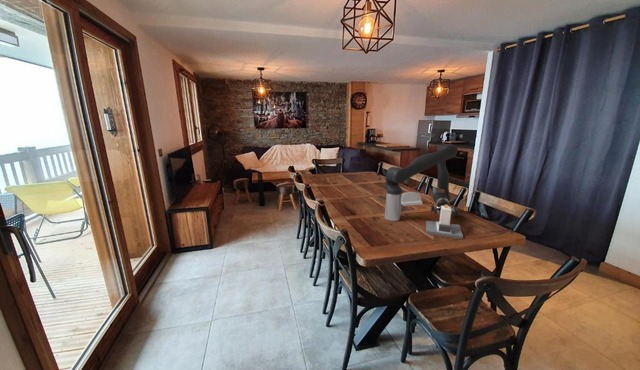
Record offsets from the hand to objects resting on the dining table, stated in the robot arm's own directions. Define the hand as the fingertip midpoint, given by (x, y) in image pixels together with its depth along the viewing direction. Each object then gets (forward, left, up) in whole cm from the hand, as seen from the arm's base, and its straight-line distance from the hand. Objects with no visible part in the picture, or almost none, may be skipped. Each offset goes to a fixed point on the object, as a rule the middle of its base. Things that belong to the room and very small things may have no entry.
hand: (444, 213), depth 141 cm
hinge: (-20, +43, -10) cm, 48 cm away
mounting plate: (0, -1, -10) cm, 10 cm away
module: (0, -2, -8) cm, 8 cm away
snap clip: (0, -6, -7) cm, 10 cm away
